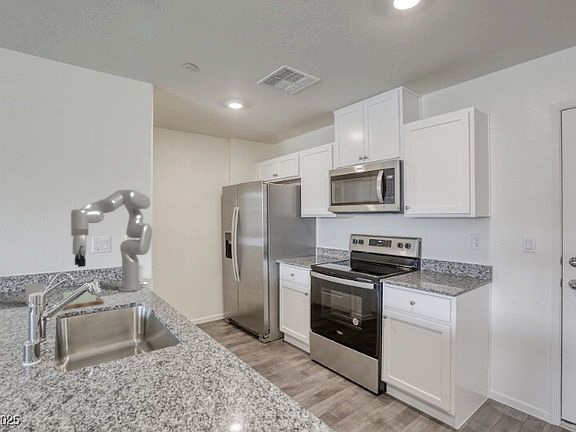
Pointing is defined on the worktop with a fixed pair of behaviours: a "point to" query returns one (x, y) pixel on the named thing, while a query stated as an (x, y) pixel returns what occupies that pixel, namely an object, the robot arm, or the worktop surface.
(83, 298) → the housing
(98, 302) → the stub board
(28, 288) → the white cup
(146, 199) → the robot arm
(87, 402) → the worktop surface
